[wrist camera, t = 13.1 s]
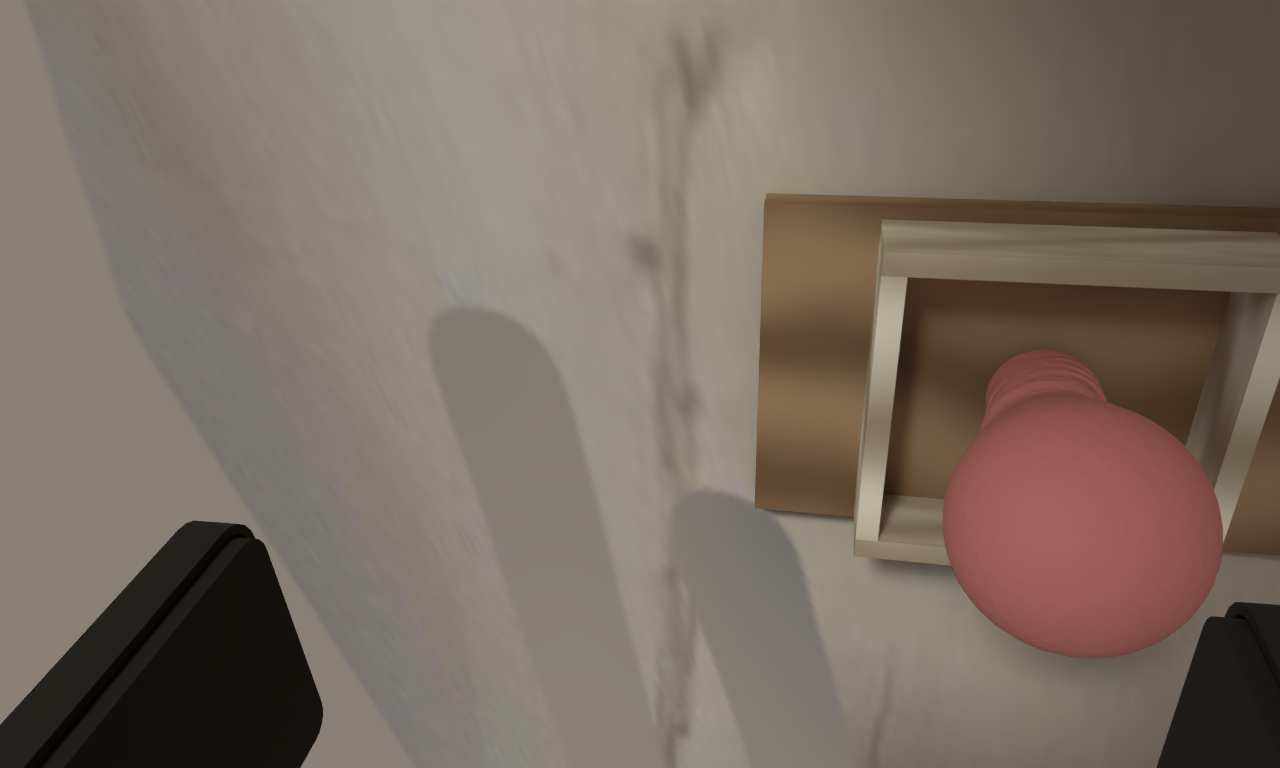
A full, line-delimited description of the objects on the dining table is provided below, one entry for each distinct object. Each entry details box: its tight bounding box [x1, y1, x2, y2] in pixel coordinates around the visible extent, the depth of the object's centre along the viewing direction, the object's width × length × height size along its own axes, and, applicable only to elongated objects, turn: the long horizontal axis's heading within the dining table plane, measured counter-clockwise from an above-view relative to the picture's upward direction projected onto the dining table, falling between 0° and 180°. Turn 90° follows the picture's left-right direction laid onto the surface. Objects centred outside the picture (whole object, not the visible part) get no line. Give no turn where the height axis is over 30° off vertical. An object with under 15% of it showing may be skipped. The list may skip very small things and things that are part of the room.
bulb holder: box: [755, 194, 1280, 566], centre depth 33 cm, size 13×20×4 cm, turn 92°
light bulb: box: [942, 350, 1223, 658], centre depth 29 cm, size 7×7×12 cm
